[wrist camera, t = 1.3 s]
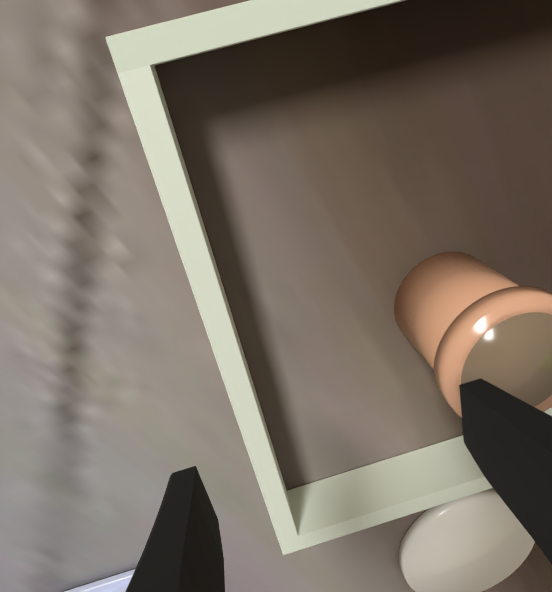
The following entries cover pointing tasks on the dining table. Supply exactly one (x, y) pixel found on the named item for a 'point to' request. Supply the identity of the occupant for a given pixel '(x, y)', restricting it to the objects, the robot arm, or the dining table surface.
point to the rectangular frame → (215, 309)
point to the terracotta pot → (478, 328)
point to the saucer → (464, 545)
